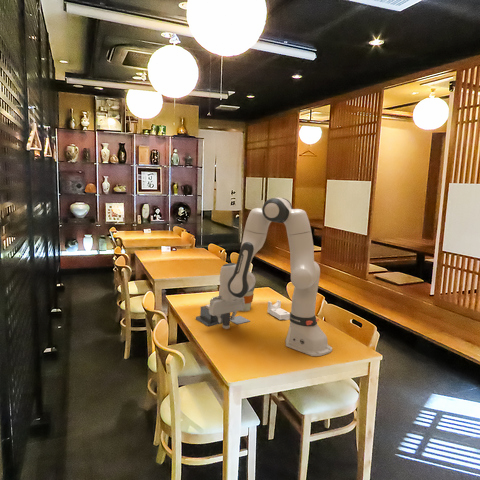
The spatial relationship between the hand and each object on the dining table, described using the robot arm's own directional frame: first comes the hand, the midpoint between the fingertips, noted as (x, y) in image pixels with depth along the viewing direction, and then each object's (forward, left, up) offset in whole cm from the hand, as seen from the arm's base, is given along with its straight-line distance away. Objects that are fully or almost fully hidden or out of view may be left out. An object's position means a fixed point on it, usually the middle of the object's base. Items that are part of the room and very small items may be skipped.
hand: (226, 320), depth 196 cm
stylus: (0, 0, -4) cm, 4 cm away
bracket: (-1, -36, -4) cm, 36 cm away
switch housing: (+12, 0, -4) cm, 13 cm away
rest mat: (+5, -12, -4) cm, 14 cm away
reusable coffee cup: (+19, -26, -4) cm, 32 cm away
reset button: (+12, 0, 0) cm, 12 cm away
